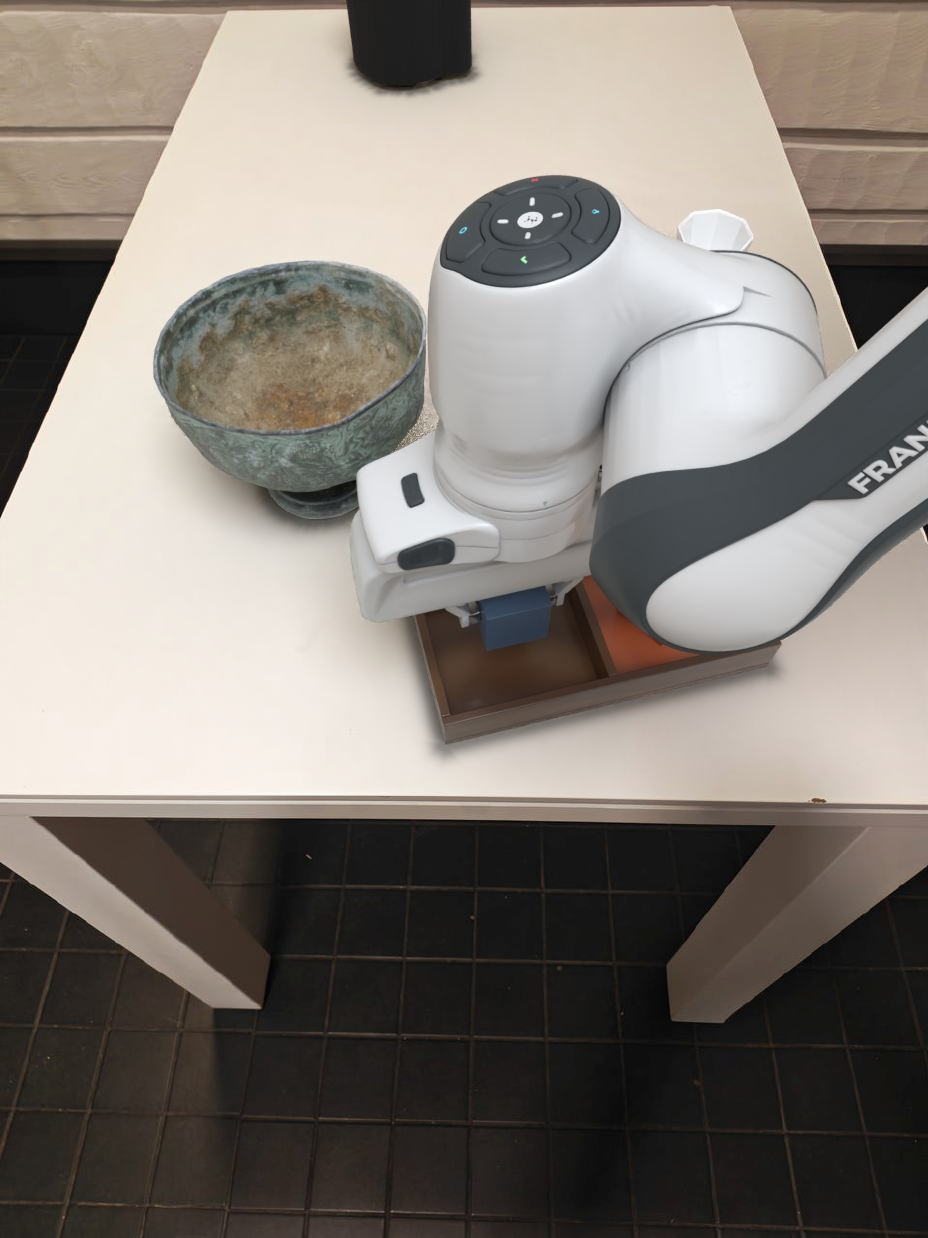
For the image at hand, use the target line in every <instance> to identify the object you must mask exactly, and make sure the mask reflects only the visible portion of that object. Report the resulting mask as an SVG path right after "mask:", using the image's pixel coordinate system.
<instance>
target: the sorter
mask: <svg viewBox="0 0 928 1238" xmlns="http://www.w3.org/2000/svg"><path fill="white" fill-rule="evenodd" d="M412 618H413V622H414V626H415V630H416V634H417V638H418V642H419V645H420V649H421V653H422V657H423V662H424V665H425V669H426V673H427V677H428V681H429V684H430V685H429V686H430V690H431V693H432V697H433V701H434V704H435V709H436V713H437V717H438V720H439V724H440V728H441V731H442V735H443V740H444V743H445V745H450V744H455V743H458V742H462V741H467V740H471V739H475V738H478V737H482V736H486V735H491V734H495V733H499V732H504V731H508V730H511V729H515V728H519V727H524V726H528V725H530V724H536V723H539V722H545V721H547V720H552V719H557V718H561V717H564V716H568V715H572V714H576V713H580V712H584V711H588V710H593V709H597V708H602V707H606V706H609V705H614V704H617V703H621V702H626V701H630V700H634V699H637V698H642V697H647V696H650V695H654V694H659V693H662V692H667V691H671V690H674V689H679V688H682V687H687V686H691V685H695V684H699V683H703V682H706V681H711V680H716V679H719V678H723V677H727V676H732V675H736V674H740V673H744V672H748V671H753V670H756V669H760V668H765V667H768V666H769V664H770V662H771V661H772V659H774V657H775V656H776V654H777V652H778V651H779V649H780V647H781V646H782V645H783V643H782V640H781V641H779V642H776V643H774V644H771V645H769V646H766V647H763V648H760V649H756V650H752V651H748V652H743V653H736V654H727V655H702V654H694V653H688V652H683V651H679V650H676V649H673V648H670V647H668V646H666V645H663V646H660V645H659V644H658V643H657V642H655V641H654V640H653V639H652V638H650V637H649V636H648V635H647V634H646V633H644V632H643V631H642V630H640V629H639V628H638V627H637V626H635V625H634V624H633V623H632V622H631V621H629V620H628V619H627V618H626V617H625V616H624V615H623V614H621V613H620V612H619V611H618V610H617V608H616V607H615V606H614V605H613V604H612V602H611V601H610V600H609V599H608V598H607V597H606V595H605V594H604V593H603V592H602V590H601V589H600V588H599V587H598V585H597V584H596V582H595V581H594V579H593V577H592V575H589V576H584V578H583V579H582V580H581V581H580V582H579V583H578V584H577V585H576V586H574V587H573V588H572V589H571V590H570V591H569V592H567V593H566V594H565V595H564V601H563V604H562V605H559V606H554V607H551V614H550V621H549V628H548V634H547V637H545V638H541V639H537V640H533V641H528V642H524V643H520V644H515V645H511V646H507V647H503V648H498V649H494V650H490V651H486V649H485V646H484V642H483V639H482V636H481V633H480V629H479V626H478V624H475V625H471V626H467V627H463V628H462V627H461V624H460V620H459V617H458V616H456V615H454V614H452V613H450V612H448V611H447V610H445V608H443V609H439V610H435V611H430V612H426V613H421V614H417V615H413V616H412Z"/></svg>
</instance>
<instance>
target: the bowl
mask: <svg viewBox="0 0 928 1238" xmlns="http://www.w3.org/2000/svg"><path fill="white" fill-rule="evenodd" d="M427 322H428V321H427V315H426V314H425V311H424V308H423V306H422V305H421V303H420V301H419V299H418V298H417V297H416V296H415V295H414V294H413V293H412V292H411V291H410V290H409V289H407V288H406V287H405V286H403V284H401V283H400V282H399V281H398V280H396V279H393V278H392V277H389V276H387V275H385V274H382V273H380V272H378V271H375V270H372V269H370V268H367V267H363V266H359V265H356V264H349V263H344V262H340V261H335V260H299V261H297V260H296V261H287V262H277V263H271V264H264V265H262V266H259V267H257V266H256V267H249V268H247V269H244V270H241V271H239V272H236V273H233V274H229V275H226V276H224V277H222V278H220V279H218V280H216V281H215V282H213V283H212V284H210V285H209V286H206V287H204V288H202V289H199V290H198V291H197V292H195V293H194V294H193V295H192V296H190V297H189V298H188V299H187V300H185V301H184V302H183V303H181V304H180V305H179V306H178V307H177V308H176V310H175V311H174V312H173V314H172V315H171V316H170V317H169V319H168V320H167V321H166V323H165V324H164V326H163V327H162V329H161V331H160V333H159V336H158V339H157V342H156V345H155V347H154V353H153V359H152V360H153V361H152V374H153V375H152V376H153V380H154V382H155V384H156V388H157V389H158V391H159V394H160V396H161V397H162V398H163V399H164V401H165V404H166V406H167V409H168V411H169V414H170V415H171V418H172V420H173V422H174V423H175V424H176V425H177V427H178V429H180V430H181V432H182V433H183V434H184V435H185V436H186V437H187V438H188V440H189V441H190V442H191V444H192V445H193V446H194V447H195V448H196V449H197V451H198V452H199V453H200V454H201V456H202V457H203V458H204V459H206V460H207V461H208V462H209V463H210V464H211V465H213V467H215V468H217V469H218V470H220V471H222V472H224V473H225V474H227V475H229V476H231V477H232V478H234V479H236V480H238V481H240V482H245V483H249V484H251V485H256V486H259V487H262V488H266V489H267V491H268V493H269V495H270V497H271V499H272V500H273V501H274V502H275V503H276V505H277V506H278V507H280V508H281V509H283V511H285V512H287V513H290V514H291V515H293V516H296V517H299V518H302V519H309V520H325V519H326V520H327V519H331V518H337V517H342V516H345V515H346V514H348V513H350V512H352V511H354V510H355V509H357V508H359V503H358V495H357V482H356V476H357V473H358V471H359V470H360V469H361V468H362V467H364V466H365V465H367V464H369V463H371V462H373V461H375V460H378V459H380V458H382V457H384V456H387V455H389V454H391V453H393V452H395V451H396V449H397V448H398V447H399V445H400V444H401V443H402V441H403V440H404V439H405V437H406V436H407V434H408V433H409V432H410V431H411V430H412V429H413V428H414V427H415V426H416V424H417V423H418V421H419V418H420V417H421V413H422V412H423V409H424V405H425V378H426V367H427V366H426V365H427V364H426V361H427Z"/></svg>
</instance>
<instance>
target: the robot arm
mask: <svg viewBox="0 0 928 1238" xmlns="http://www.w3.org/2000/svg"><path fill="white" fill-rule="evenodd" d="M428 291H429V292H428V303H427V321H426V322H427V333H426V346H427V368H428V369H427V370H428V371H427V372H428V384H429V393H430V399H431V401H432V405H433V408H434V410H435V412H436V415H437V417H438V421H437V424H436V426H435V429H433V430H432V431H430V432H428V433H427V434H425V435H424V436H422V437H420V438H418V439H417V440H415V441H413V442H411V443H409V444H407V445H406V446H403V447H401V448H399V449H397V450H394V451H393V452H392V453H391V454H389V455H387V456H384V457H382V458H380V459H378V460H375V461H373V462H371V463H369V464H367V465H365V466H364V467H362V468H361V469H360V470H359V471H358V473H357V476H356V482H357V495H358V503H359V506H358V510H357V511H356V512H355V514H354V516H353V518H352V519H351V524H350V532H349V556H350V566H351V572H352V577H353V582H354V586H355V592H356V597H357V601H358V605H359V609H360V613H361V616H362V618H363V619H365V620H367V621H370V622H373V623H376V624H382V623H387V622H391V621H395V620H400V619H403V618H407V617H413V615H417V614H421V613H426V612H430V611H435V610H439V609H443V608H445V610H447V611H448V612H450V613H452V614H454V615H456V616H458V617H459V620H460V624H461V627H462V628H463V627H467V626H471V625H475V624H479V623H482V620H481V618H482V613H481V609H480V606H479V604H478V601H479V600H483V599H487V598H492V597H496V596H501V595H505V594H509V593H514V592H518V591H523V590H527V589H531V588H536V587H540V586H545V587H546V590H547V593H548V595H549V598H550V601H551V604H552V607H554V606H559V605H562V604H563V601H564V595H565V594H566V593H567V592H569V591H570V590H571V589H572V588H573V587H574V586H576V585H577V584H578V583H579V582H580V581H581V580H582V579H583V578H584V576H589V575H592V577H593V579H594V581H595V582H596V584H597V585H598V587H599V588H600V589H601V590H602V592H603V593H604V594H605V595H606V597H607V598H608V599H609V600H610V601H611V602H612V604H613V605H614V606H615V607H616V608H617V609H618V610H619V611H620V612H621V613H622V614H623V615H624V616H625V617H626V618H627V619H628V620H629V621H631V622H632V623H633V624H634V625H635V626H637V627H638V628H639V629H640V630H642V631H643V632H644V633H646V634H647V635H649V636H650V637H652V638H653V639H655V640H657V641H658V642H660V643H662V644H664V645H666V646H668V647H670V648H673V649H676V650H679V651H683V652H688V653H694V654H702V655H727V654H736V653H743V652H748V651H752V650H756V649H760V648H763V647H766V646H769V645H771V644H774V643H776V642H779V641H781V642H782V641H783V640H785V639H787V638H788V637H791V636H792V635H793V634H795V633H797V632H799V631H800V630H802V629H803V628H805V627H806V626H807V625H809V624H810V623H812V622H813V621H815V620H816V619H817V618H818V617H820V616H821V615H822V614H823V613H825V612H826V611H827V610H828V609H829V608H830V607H832V605H834V604H835V603H836V602H837V601H838V600H839V599H840V598H841V597H842V596H843V595H844V594H845V593H846V592H848V590H850V588H852V586H853V585H855V583H856V582H857V581H858V580H859V579H860V578H861V577H862V576H863V575H865V573H866V572H867V571H868V570H870V569H871V568H872V566H874V565H875V564H876V563H877V562H878V561H880V559H882V558H883V557H884V556H885V555H886V554H888V553H889V552H890V551H892V550H893V549H894V548H895V547H897V546H898V545H900V544H901V543H902V542H903V541H905V540H906V539H907V538H909V537H910V536H911V535H912V536H913V534H915V533H916V532H917V531H919V530H920V529H922V528H924V527H925V526H926V525H928V286H927V287H925V289H924V290H922V291H921V292H920V293H919V294H918V295H917V296H916V297H915V298H914V299H912V300H911V301H910V302H909V303H908V304H907V305H906V306H904V308H903V309H902V310H901V311H899V312H898V313H897V314H896V315H895V316H894V317H893V318H891V319H890V320H889V321H888V322H887V323H886V324H885V325H884V326H883V327H882V328H881V329H879V330H878V331H877V332H876V333H875V334H874V335H873V336H871V337H870V339H868V340H867V341H866V342H865V343H864V344H863V345H862V346H861V347H859V348H858V349H857V350H856V351H855V352H854V353H853V354H851V355H850V356H849V357H848V359H846V360H845V361H844V362H843V363H842V364H841V365H840V366H839V367H838V368H836V369H835V370H834V371H833V372H831V374H830V375H828V373H827V366H826V365H827V364H826V359H825V352H824V345H823V340H822V333H821V327H820V324H819V318H818V311H817V305H816V303H815V298H814V297H813V295H812V292H811V291H810V289H809V288H808V286H807V285H806V283H805V282H804V281H803V280H802V279H801V278H800V276H798V274H797V273H795V272H794V271H793V270H791V269H790V267H789V268H788V267H787V266H786V265H784V264H783V263H781V262H778V261H777V260H774V259H772V258H770V257H767V256H764V255H761V254H758V253H754V252H749V251H748V252H743V251H731V250H705V249H702V248H699V247H696V246H693V245H690V244H687V243H684V242H682V241H679V240H677V239H676V238H674V237H672V236H670V235H668V234H666V233H663V232H661V231H659V230H657V229H655V228H654V227H652V226H651V225H649V224H647V223H646V222H645V221H643V220H641V219H640V218H639V217H638V216H637V215H635V213H634V212H633V211H632V210H631V209H630V208H629V207H628V206H627V205H626V204H625V202H624V201H623V200H622V199H621V198H620V197H619V196H618V195H616V193H615V192H614V191H612V190H610V189H609V188H607V186H604V185H603V184H601V183H598V182H595V181H593V180H591V179H587V178H583V177H580V176H579V177H578V176H574V175H565V174H548V175H547V174H546V175H538V176H531V177H525V178H522V179H518V180H515V181H511V182H509V183H506V184H503V185H501V186H498V187H496V188H495V189H492V190H490V191H488V192H487V193H484V194H483V195H482V196H480V197H478V198H477V199H476V200H474V201H473V202H472V203H470V204H469V205H468V206H467V207H465V209H464V210H463V211H462V212H461V213H459V215H458V216H457V217H456V219H454V221H453V222H452V223H451V225H450V226H449V228H448V229H447V231H446V232H445V234H444V237H443V238H442V240H441V243H440V245H439V247H438V250H437V252H436V255H435V259H434V261H433V265H432V269H431V275H430V282H429V289H428Z"/></svg>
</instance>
